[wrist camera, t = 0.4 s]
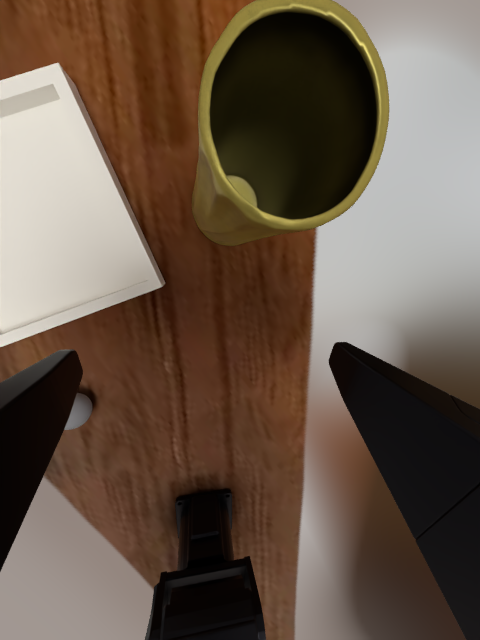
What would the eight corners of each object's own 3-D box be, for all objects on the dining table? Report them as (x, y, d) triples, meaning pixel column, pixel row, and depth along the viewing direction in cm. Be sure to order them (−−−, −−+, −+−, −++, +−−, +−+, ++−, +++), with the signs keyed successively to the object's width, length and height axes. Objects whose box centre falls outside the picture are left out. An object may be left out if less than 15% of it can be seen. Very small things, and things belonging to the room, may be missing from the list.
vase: (179, 178, 18) (132, -1, 5) (253, 153, 19) (395, -78, 5) (208, 255, 20) (229, 276, 7) (274, 231, 21) (414, 208, 7)
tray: (165, 283, 21) (162, 286, 19) (4, 342, 20) (-16, 353, 18) (74, 84, 16) (58, 62, 14) (-142, 152, 15) (-190, 139, 13)
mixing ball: (100, 412, 23) (86, 435, 20) (65, 415, 23) (46, 439, 20) (95, 384, 22) (80, 405, 19) (58, 387, 22) (38, 408, 19)
